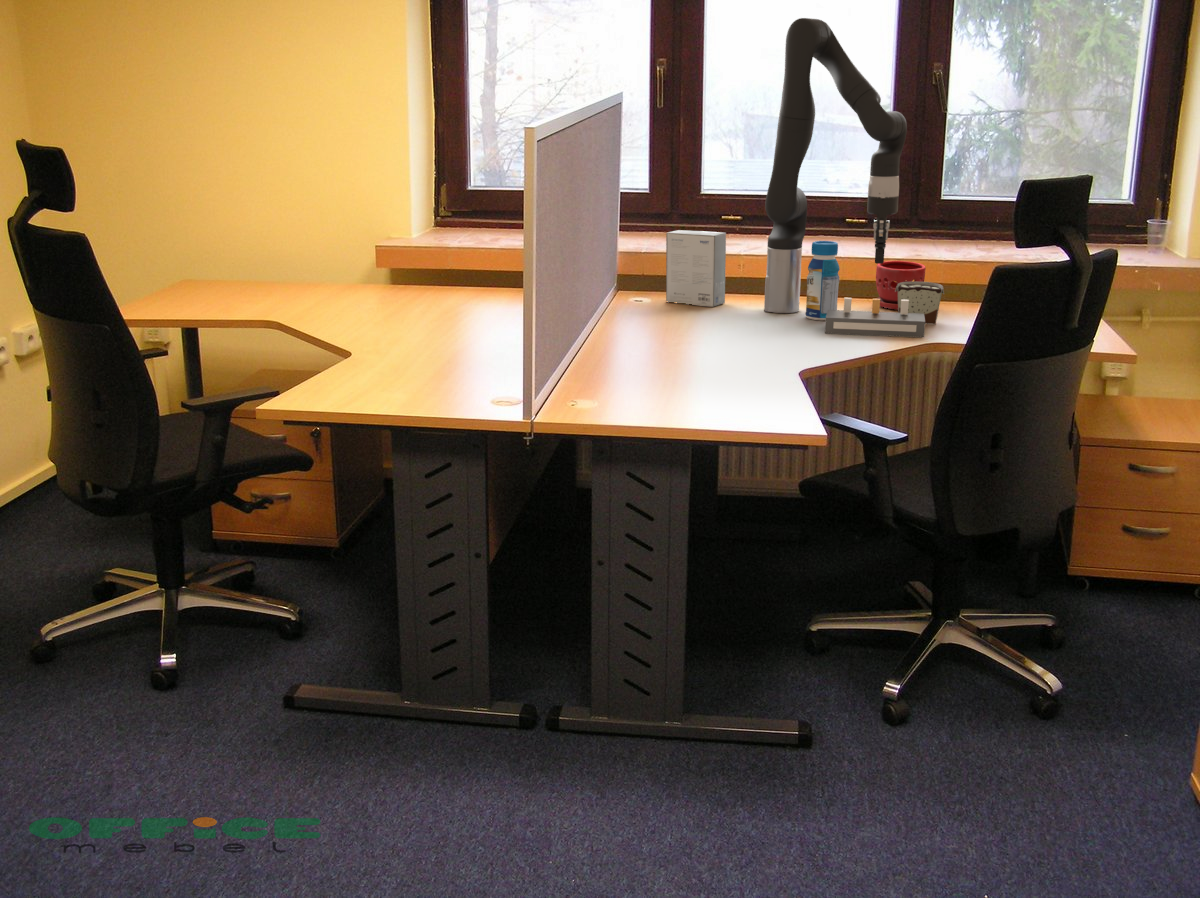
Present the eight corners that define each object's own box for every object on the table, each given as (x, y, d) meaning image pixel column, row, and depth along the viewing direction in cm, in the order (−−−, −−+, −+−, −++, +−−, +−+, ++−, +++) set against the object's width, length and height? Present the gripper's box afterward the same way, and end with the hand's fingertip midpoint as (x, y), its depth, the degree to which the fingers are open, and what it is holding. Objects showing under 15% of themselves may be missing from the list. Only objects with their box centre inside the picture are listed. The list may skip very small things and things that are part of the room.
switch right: (900, 314, 293) (901, 300, 292) (900, 313, 294) (901, 299, 293) (907, 314, 293) (908, 300, 292) (907, 313, 294) (908, 299, 293)
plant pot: (864, 307, 324) (867, 264, 321) (892, 301, 332) (895, 258, 329) (904, 314, 315) (907, 269, 311) (931, 307, 323) (935, 264, 319)
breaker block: (824, 333, 292) (825, 317, 291) (826, 325, 302) (827, 309, 301) (923, 337, 287) (925, 321, 286) (922, 329, 296) (924, 313, 295)
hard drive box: (725, 303, 331) (727, 232, 324) (713, 308, 324) (715, 235, 318) (677, 298, 339) (678, 228, 332) (664, 302, 332) (665, 232, 326)
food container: (943, 320, 307) (946, 282, 304) (941, 325, 301) (944, 286, 298) (895, 317, 311) (897, 280, 308) (892, 322, 305) (895, 284, 302)
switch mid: (871, 313, 295) (872, 299, 293) (871, 312, 296) (872, 298, 295) (879, 313, 294) (880, 299, 293) (879, 312, 295) (880, 298, 294)
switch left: (843, 312, 296) (844, 298, 295) (843, 311, 297) (844, 297, 296) (850, 312, 296) (851, 298, 295) (850, 311, 297) (851, 297, 296)
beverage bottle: (835, 321, 306) (839, 245, 299) (802, 320, 308) (806, 244, 302) (838, 315, 313) (843, 240, 307) (807, 314, 316) (810, 239, 309)
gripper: (868, 191, 300) (864, 259, 305) (867, 196, 288) (863, 267, 293) (898, 191, 298) (894, 259, 304) (898, 197, 286) (894, 267, 291)
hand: (879, 263), depth 298 cm, fingers closed
